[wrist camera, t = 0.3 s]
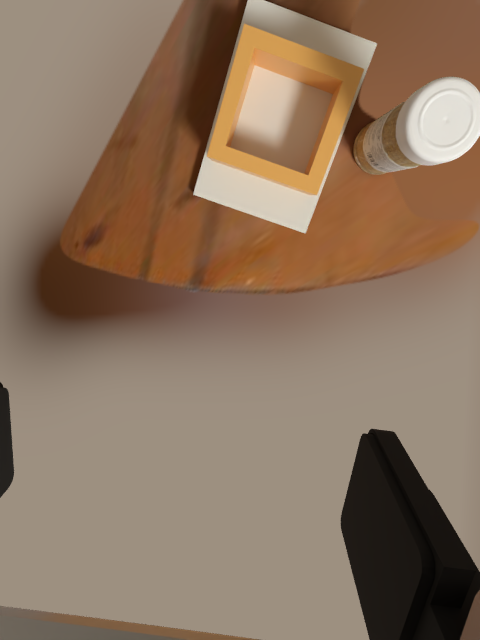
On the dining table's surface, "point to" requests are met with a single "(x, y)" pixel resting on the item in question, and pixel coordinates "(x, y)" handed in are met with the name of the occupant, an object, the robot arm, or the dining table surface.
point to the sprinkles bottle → (422, 128)
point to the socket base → (281, 114)
